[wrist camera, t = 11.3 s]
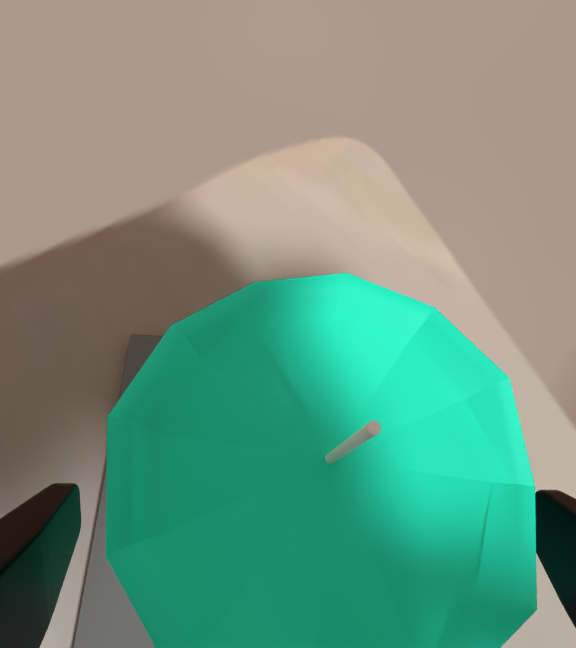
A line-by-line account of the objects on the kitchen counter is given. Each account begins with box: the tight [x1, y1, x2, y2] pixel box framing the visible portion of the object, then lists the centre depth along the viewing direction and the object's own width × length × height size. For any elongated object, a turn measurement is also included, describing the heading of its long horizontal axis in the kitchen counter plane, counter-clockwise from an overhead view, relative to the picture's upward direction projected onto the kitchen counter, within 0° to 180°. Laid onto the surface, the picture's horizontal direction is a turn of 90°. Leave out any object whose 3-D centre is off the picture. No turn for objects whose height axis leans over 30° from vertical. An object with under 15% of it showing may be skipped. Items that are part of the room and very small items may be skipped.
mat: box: [73, 335, 163, 648], centre depth 15 cm, size 12×12×1 cm
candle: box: [106, 273, 537, 648], centre depth 10 cm, size 6×6×12 cm
